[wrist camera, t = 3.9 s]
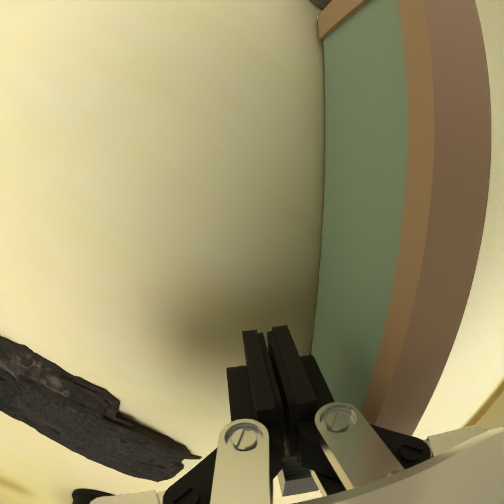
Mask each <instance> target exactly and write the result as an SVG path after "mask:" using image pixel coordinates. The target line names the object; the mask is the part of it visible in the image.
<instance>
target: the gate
mask: <svg viewBox="0 0 504 504" xmlns="http://www.w3.org/2000/svg"><path fill="white" fill-rule="evenodd" d="M317 17H318V33H319V39H320V40H323V44H324V67H325V182H324V207H323V226H322V243H321V257H320V270H319V282H318V294H317V304H316V314H315V323H314V332H313V341H312V349H311V355H313V356H314V358H315V360H316V362H317V364H318V366H319V368H320V371H321V373H322V375H323V377H324V379H325V381H326V383H327V386H328V388H329V390H330V392H331V394H332V396H333V399H334V401H335V402H344V403H349V404H351V405H353V406H355V407H356V408H357V409H358V410H359V411H360V413H361V414H362V415H363V416H364V418H365V419H366V420H367V422H368V423H369V424H372V425H375V426H378V427H381V428H385V429H388V430H391V431H395V432H398V433H402V434H405V435H409V436H412V434H413V432H414V431H415V429H416V427H417V425H418V423H419V421H420V419H421V417H422V415H423V413H424V411H425V409H426V407H427V405H428V403H429V401H430V399H431V397H432V395H433V393H434V391H435V388H436V386H437V384H438V382H439V379H440V377H441V375H442V372H443V370H444V367H445V365H446V362H447V360H448V357H449V355H450V352H451V349H452V347H453V344H454V341H455V338H456V335H457V332H458V329H459V326H460V323H461V320H462V317H463V314H464V311H465V307H466V304H467V300H468V297H469V293H470V289H471V286H472V282H473V278H474V273H475V269H476V265H477V260H478V255H479V250H480V245H481V240H482V234H483V228H484V222H485V215H486V207H487V199H488V189H489V178H490V162H491V104H490V89H489V77H488V68H487V60H486V53H485V47H484V41H483V35H482V30H481V25H480V20H479V16H478V11H477V7H476V3H475V0H332V1H331V2H330V3H329V4H328V5H327V6H326V8H325V9H324V10H323V11H322V12H321V13H320V14H319V15H318V16H317Z"/></svg>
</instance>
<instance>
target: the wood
mask: <svg viewBox="0 0 504 504" xmlns="http://www.w3.org/2000/svg"><path fill="white" fill-rule="evenodd" d="M119 403H120V402H119V401H118V400H117V399H116V398H115V397H114V396H112V395H111V394H110V393H109V392H108V391H106V390H105V389H103V388H101V387H98V386H96V385H94V384H92V383H90V382H88V381H86V380H84V379H82V378H80V377H77V376H73V375H71V374H70V373H68V372H66V371H65V370H63V369H62V368H61V367H59V366H58V365H56V364H55V363H52V362H50V361H48V360H46V359H45V358H43V357H42V356H40V355H39V354H37V353H34V352H33V351H32V350H31V349H29V348H28V347H27V346H25V345H22V344H18V343H15V342H13V341H10V340H8V339H6V338H4V337H2V336H0V411H2V412H4V413H5V414H7V415H9V416H10V417H12V418H14V419H16V420H19V421H22V422H24V423H26V424H28V425H29V426H31V427H33V428H34V429H36V430H37V431H38V432H39V433H41V434H43V435H45V436H46V437H48V438H50V439H52V440H54V441H56V442H58V443H59V444H61V445H63V446H65V447H66V448H68V449H70V450H71V451H73V452H76V453H78V454H80V455H82V456H84V457H86V458H87V459H90V460H92V461H95V462H97V463H100V464H102V465H104V466H107V467H109V468H112V469H115V470H117V471H119V472H121V473H124V474H127V475H130V476H133V477H137V478H142V479H148V480H152V481H156V482H159V481H163V480H168V479H171V478H173V477H174V476H175V475H176V474H177V473H178V472H180V471H181V470H182V469H183V468H184V465H183V464H180V463H181V462H182V460H184V459H201V458H202V457H198V456H193V455H191V454H190V453H189V452H188V450H187V448H186V447H183V446H181V445H180V444H178V443H176V442H174V441H173V440H172V439H170V438H169V437H167V436H165V435H163V434H160V433H157V432H155V431H153V430H150V429H148V428H146V427H144V426H141V425H139V424H138V423H136V422H133V421H130V420H127V419H125V418H122V417H120V416H118V415H116V414H117V412H118V409H119Z"/></svg>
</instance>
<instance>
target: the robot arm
mask: <svg viewBox="0 0 504 504" xmlns="http://www.w3.org/2000/svg"><path fill="white" fill-rule="evenodd" d="M242 334H243V342H244V350H245V357H246V366H238V367H230V368H227V380H228V391H229V402H230V413H231V422H230V423H229V424H227V425H226V426H225V427H224V428H223V429H222V430H221V432H220V435H219V441H218V447H217V448H216V449H215V450H214V451H213V452H212V453H211V454H209V455H208V456H207V457H206V458H205V459H204V460H202V461H201V462H200V463H199V464H198V465H196V466H195V467H194V468H193V469H192V470H190V471H189V472H188V473H187V474H185V475H184V476H183V477H182V478H180V479H179V480H178V481H177V482H175V483H174V484H173V485H171V486H170V487H169V488H168V489H167V490H166V491H163V492H156V491H155V490H154V491H148V492H141V493H134V494H125V495H116V496H104V497H99V498H96V499H94V500H93V501H91V502H90V504H273V479H274V478H275V477H276V475H277V474H278V473H279V472H280V471H281V470H282V459H283V458H285V447H284V440H285V443H286V447H287V451H288V455H289V457H294V456H295V459H296V463H297V464H298V463H300V464H301V466H303V467H305V468H308V469H310V472H311V475H312V477H313V479H314V481H315V483H316V484H317V486H318V488H319V490H320V492H321V494H322V496H323V497H320V498H316V499H312V500H308V501H303V502H298V503H293V504H504V427H500V428H496V429H492V430H489V431H487V429H485V428H484V427H482V426H479V425H471V426H468V427H464V428H461V429H457V430H453V431H449V432H445V433H441V434H437V435H433V436H428V437H427V439H426V440H421V439H419V438H416V437H413V436H409V435H405V434H402V433H398V432H395V431H391V430H388V429H385V428H381V427H378V426H375V425H372V424H369V423H368V422H367V420H366V419H365V418H364V416H363V415H362V414H361V413H360V411H359V410H358V409H357V408H356V407H355V406H353V405H351V404H349V403H344V402H335V401H334V399H333V396H332V394H331V392H330V390H329V388H328V386H327V383H326V381H325V379H324V377H323V375H322V373H321V371H320V368H319V366H318V364H317V362H316V360H315V358H314V356H313V355H308V356H302V357H300V356H299V354H298V351H297V349H296V346H295V344H294V341H293V339H292V336H291V334H290V331H289V329H288V327H287V325H284V326H277V327H272V331H269V332H267V340H268V349H267V346H266V342H265V338H264V335H263V333H257V330H249V331H242Z"/></svg>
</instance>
